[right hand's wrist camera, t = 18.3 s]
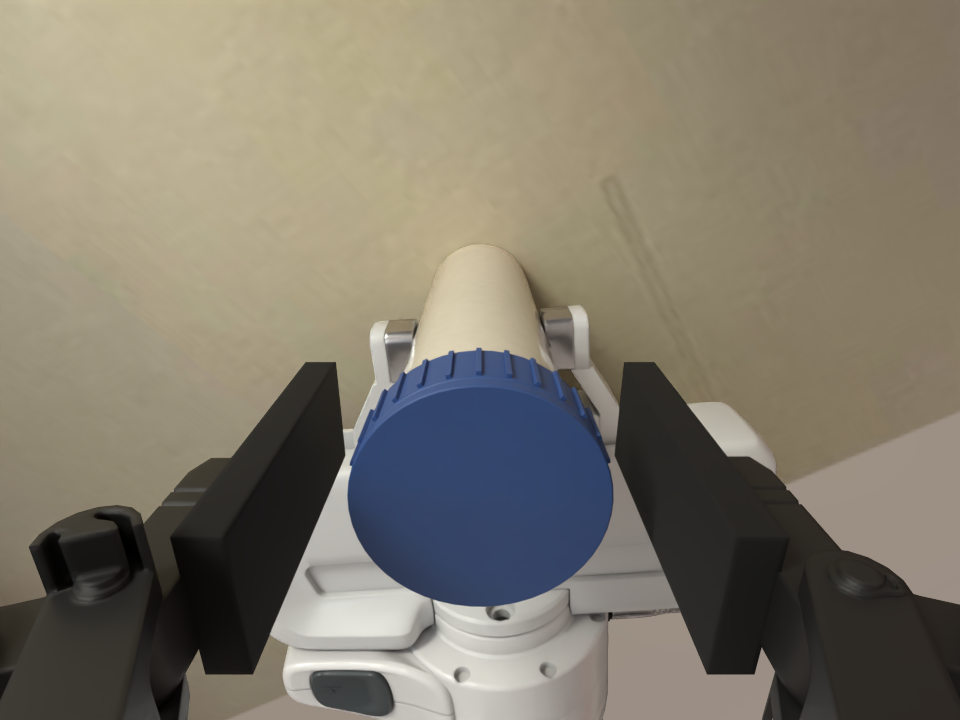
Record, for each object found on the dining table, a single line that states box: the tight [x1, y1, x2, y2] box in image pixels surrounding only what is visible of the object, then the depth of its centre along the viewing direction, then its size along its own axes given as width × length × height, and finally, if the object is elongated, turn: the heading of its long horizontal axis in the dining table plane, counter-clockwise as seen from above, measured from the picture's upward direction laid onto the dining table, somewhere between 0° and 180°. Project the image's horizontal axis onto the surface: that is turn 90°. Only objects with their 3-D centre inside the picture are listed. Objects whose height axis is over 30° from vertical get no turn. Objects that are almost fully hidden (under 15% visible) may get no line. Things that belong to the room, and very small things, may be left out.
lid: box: [347, 348, 614, 607], centre depth 11 cm, size 5×5×2 cm
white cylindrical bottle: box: [403, 244, 558, 374], centre depth 18 cm, size 4×4×15 cm
